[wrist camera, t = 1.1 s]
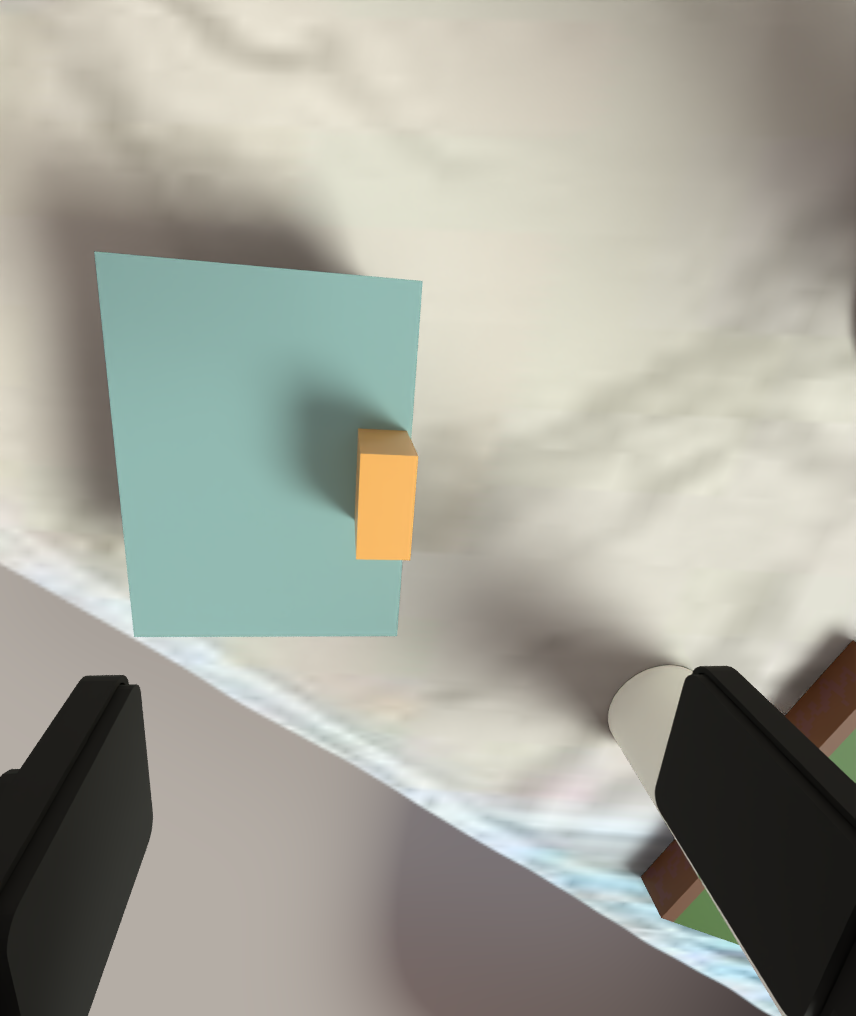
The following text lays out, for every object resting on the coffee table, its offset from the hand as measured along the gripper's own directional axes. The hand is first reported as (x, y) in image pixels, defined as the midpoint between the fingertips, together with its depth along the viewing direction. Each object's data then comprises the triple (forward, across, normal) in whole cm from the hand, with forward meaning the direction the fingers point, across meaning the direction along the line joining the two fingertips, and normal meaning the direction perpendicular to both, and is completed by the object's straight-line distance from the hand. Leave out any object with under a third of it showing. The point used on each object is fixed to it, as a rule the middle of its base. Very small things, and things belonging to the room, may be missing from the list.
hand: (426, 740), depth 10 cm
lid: (+16, +4, 0) cm, 17 cm away
